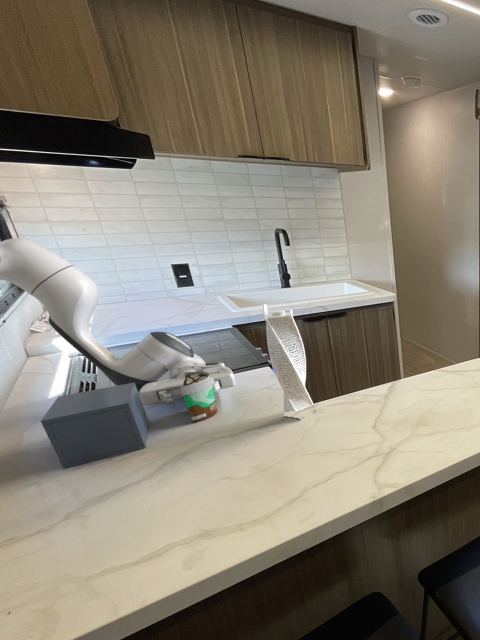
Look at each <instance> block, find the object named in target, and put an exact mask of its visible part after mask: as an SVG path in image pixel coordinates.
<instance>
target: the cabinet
mask: <svg viewBox="0 0 480 640" xmlns="http://www.w3.org/2000/svg"><path fill="white" fill-rule="evenodd" d="M40 423H41V425H42V427H43V429H44V432H45V433H46V435H47V438H48V440H49V442H50V445H51V446H52V448H53V450H54V453H55V454H56V456H57V458H58V460H59V462H60V465H61V466H62V469H67V468H71V467H75V466H79V465H84V464H87V463H91V462H95V461H99V460H103V459H107V458H110V457H114V456H115V457H116V456H119V455H122V454H127V453H130V452H134V451H138V450H141V449H142V450H143V449H146V447H147V442H148V441H147V440H148V435H149V427H150V420H149V418H148V415H147V413H146V410H145V407H144V403H143V402H142V400H141V397H140V394H139V392H138V391H137V388H136V385H135V383H129V384H124V385H118V386H116V385H114V386H109V387H108V386H107V387H102V388H97V389H92V390H91V389H90V390H85V391H81V392H75V393H70V394H64V395H59V396H57V398H56V399H55V401H54V402H52V404H51V406H50V407H49V408H48V410H47V412H46V413H45V414H44V415H43V416H42V418H41V419H40Z"/></svg>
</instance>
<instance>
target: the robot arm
mask: <svg viewBox="0 0 480 640" xmlns="http://www.w3.org/2000/svg"><path fill="white" fill-rule="evenodd" d="M0 280H1V281H5V282H8V283H10V284H12V285H15V286H17V287H18V288H20V289H22V291H24V292H26V293H27V294H29V295H31V296H32V297H33V298H35V299H36V300H37V301H38V302H40V304H41V305H43V307H44V308H45V309H46V311H47V313H48V320H47V322H48V323H49V325H50V326H51V327H52V329H53V330H54V331H55V332H56V333H57V334H58V335H59V336H60V337H62V338H63V339H64V340H65V341H66V342H67V343H68V344H69V345H71V346H72V347H73V348H74V349H75V350H76V351H78V352H79V353H80V354H81V355H82V356H83V357H84V358H86V359H87V360H88V361H89V362H90V363H91V364H93V365H94V366H95V367H96V368H98V369H99V370H100V371H101V372H102V373H103V375H105V377H107V378H108V380H110V381H111V383H113V384H114V386H118V385H124V384H129V383H135V385H136V388H137V391H138V393H139V396H140V399H141V401H142V404H143V405H152V404H157V403H161V402H165V403H166V404H168V403H173V402H174V400H175V399H180V398H184V396H183V395H182V392H181V388H180V387H182V386H183V383H184V380H185V374H184V373H187V372H207V373H209V374H210V375H211V376H212V378H213V379H214V384H213V385H212V387H213V392H214V394H215V393H217V391H219V390H224V389H228V388H233V387H235V386H237V382H236V378H235V375H234V372H233V371H232V369H231V368H230V367H228V366H226V364H225V363H224V362H206V361H205V360H204V359H203V358H201V357H200V356H199V355H198V354H197V353H194V349H193V348H192V346H191V345H189V343H188V342H186V341H184V340H183V339H182V338H180V337H179V336H177V335H175V334H173V333H170V332H166V331H151V332H149V333H148V335H146V336H144V338H142V339H141V340H140V341H138V343H136V345H135V346H134V347H132V348H131V349H130V350H129V351H127V353H125V354H124V355H122V356H121V357H120V358H118V357H117V356H115V355H114V354H113V353H112V352H111V351H110V350H108V349H107V348H106V347H105V346H104V345H103V344H102V343H101V342H99V341H98V339H96V338H95V337H94V336H93V335H92V333H91V331H90V321H91V318H92V316H93V314H94V312H95V310H96V308H97V306H98V303H99V296H100V295H99V294H100V293H99V289H98V285H97V284H96V282H95V281H94V280H93V279H92V278H91V277H90V276H88V274H86V273H85V272H84V271H83V270H81V269H80V268H78V267H77V266H75V265H74V264H73V263H71V262H70V261H68V260H67V259H66V258H64V257H62V256H61V255H59V254H57V253H55V252H54V251H52V250H50V249H48V248H47V247H45V246H44V245H42V244H39V243H37V242H35V241H33V240H31V239H28V238H24V237H14V238H13V237H12V238H8V239H4V240H2V241H0ZM168 372H169V378H167V379H162V380H160V378H162V377H163V376H164V375H165V374H166V373H168Z"/></svg>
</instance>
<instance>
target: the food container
mask: <svg viewBox="0 0 480 640" xmlns="http://www.w3.org/2000/svg"><path fill="white" fill-rule="evenodd" d="M184 374H185V380H184V383H183V386H182V387H180V388H181V392H182V395H183V396H184V397H183V399H184V402H185V404H186V408H187V410H188V413H189V416H190V418H191V421H192V423H193V424H196V423H200V422H202V421H206V420H208V419H211V418H212V417H214V416H215V415H217V413H218V406H217V403H216V397H215V393H214V392H213V387H212V385H213V384H214V379H213V378H212V376H211V375H210V374H209V373H207V372H187V373H184Z"/></svg>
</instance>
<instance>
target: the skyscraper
mask: <svg viewBox="0 0 480 640" xmlns="http://www.w3.org/2000/svg"><path fill="white" fill-rule="evenodd" d="M262 312H263V313H262V314H263V319H264V321H265V325H266V326H265V329H266V330H265V331H266V342H267V343H266V344H267V350H268V355H269V359H270V362H271V365H272V370H273V371H274V374H275V377H276V379H277V381H278V383H279V386H280V387H281V389H282V391H283V414H284V413H285V412H289V411H295V412H296V411H298V410H303V409H304V408H307V407H308V406H311V405H314V406H315V404H314V402H313V400H312V398H311V395H310V394H309V392H308V390H307V388H306V381H307V357H306V350H305V346H304V342H303V339H302V336H301V333H300V331H299V328H298V326H297V323H296V321H295V319H294V316H293V313H294V311H293V309H292V308H290V309H289V311H285V310H284V309H276V310H272V311H270V313H269V309H268V305H267V304H266V303H263V306H262Z"/></svg>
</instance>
